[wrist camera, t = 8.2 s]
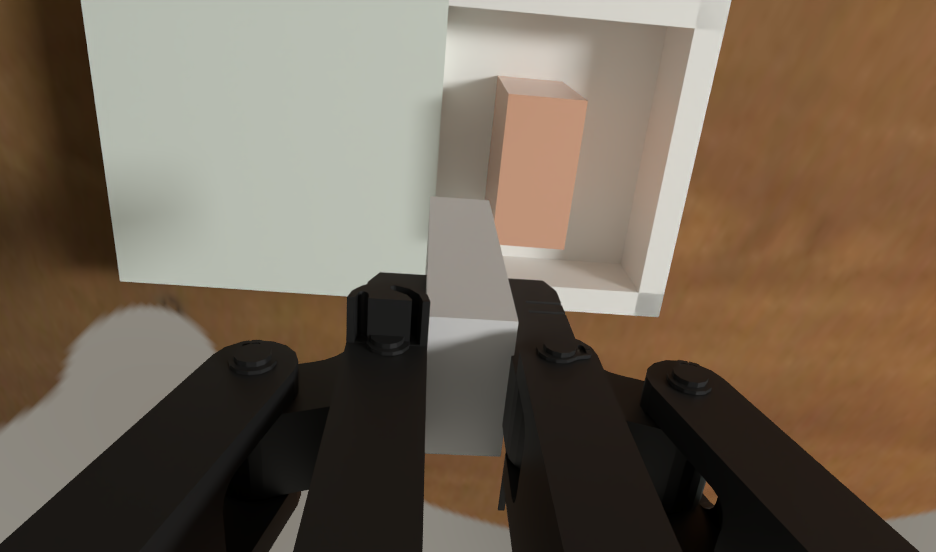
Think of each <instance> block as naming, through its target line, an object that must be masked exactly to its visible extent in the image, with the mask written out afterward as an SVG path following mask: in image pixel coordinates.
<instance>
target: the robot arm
mask: <svg viewBox="0 0 936 552" xmlns="http://www.w3.org/2000/svg"><path fill="white" fill-rule="evenodd" d="M503 435H504V441H505V448H506V454H505V461H504V468H503V476H502V483H501V490H500V497H499V505H498V510H504V509H505V504H506V507H507V515H508V522H509V530H510V537H511V546H512V552H919V551H918V550H917V549H916V548H915V547H914V546H912V545H911V544H910V543H909V542H908V541H907V540H906V539H904V538H903V537H902V536H901V535H900V534H899V533H898V532H897V531H895V530H894V529H893V528H892V527H891V526H890V525H889V524H888V523H886V522H885V521H884V520H883V519H882V518H881V517H880V516H878V515H877V514H876V513H875V512H874V511H873V510H872V509H871V508H869V507H868V506H867V505H866V504H865V503H864V502H863V501H861V500H860V499H859V498H858V497H857V496H856V495H855V494H854V493H852V492H851V491H850V490H849V489H848V488H847V487H846V486H844V485H843V484H842V483H841V482H840V481H839V480H838V479H837V478H835V477H834V476H833V475H832V474H831V473H830V472H829V471H827V470H826V469H825V468H824V467H823V466H822V465H821V464H820V463H818V462H817V461H816V460H815V459H814V458H813V457H812V456H810V455H809V454H808V453H807V452H806V451H805V450H804V449H803V448H801V447H800V446H799V445H798V444H797V443H796V442H795V441H793V440H792V439H791V438H790V437H789V436H788V435H787V434H786V433H784V432H783V431H782V430H781V429H780V428H779V427H778V426H776V425H775V424H774V423H773V422H772V421H771V420H770V419H769V418H767V417H766V416H765V415H764V414H763V413H762V412H761V411H760V410H758V409H757V408H756V407H755V406H754V405H753V404H752V403H750V402H749V401H748V400H747V399H746V398H745V397H744V396H743V395H741V394H740V393H739V392H738V391H737V390H736V389H735V388H733V387H732V386H731V385H730V384H729V383H728V382H727V381H726V380H724V379H723V378H722V377H720V376H719V375H717V374H716V373H714V372H713V371H711V370H709V369H706V368H704V367H702V366H700V365H699V364H696V363H692V362H689V363H688V362H687V361H682V360H678V361H671V360H665V361H661V362H657V363H654V364H653V365H651V366H650V367H649V368H648V369H647V373H646V377H645V381H642V380H638V379H633V378H629V377H625V376H621V375H617V374H614V373H611V372H608V371H606V370H604V369H603V367H602V365H601V362H600V360H599V358H598V355H597V354H596V353H595V351H594V350H593V349H592V348H591V347H590V346H588V345H587V344H585V343H583V342H582V341H580V340H577V339H575V337H574V334H573V332H572V329H571V327H570V324H569V322H568V319H567V317H566V315H565V312H564V309H563V307H562V305H561V301H560V299H559V296H558V294H557V291H555V290H554V289H553V288H552V287H550V286H549V285H548V284H547V283H546V282H544V281H542V280H526V279H510V278H508V276H507V272H506V268H505V264H504V260H503V256H502V252H501V247H500V243H499V239H498V235H497V231H496V227H495V223H494V219H493V215H492V210H491V206H490V202H489V200H477V199H463V198H449V197H435V196H430V209H429V225H428V240H427V255H426V270H425V275H418V274H402V273H386V272H380V273H378V274H377V275H376V276H374V277H373V278H372V279H371V280H369V281H368V283H367V284H366V285H362V286H360V287H358V288H356V289H354V290H352V291H351V292H350V294H349V295H348V296H347V337H346V346H345V350H344V352H343V353H341V354H339V355H337V356H335V357H332V358H329V359H326V360H321V361H316V362H310V363H302V364H298V359H297V356H296V353H295V352H294V351H293V350H292V349H290V348H289V347H288V346H286V345H283V344H280V343H276V342H272V341H262V340H252V341H243V342H240V343H237V344H233V345H230V346H227V347H224V348H223V349H221V350H220V351H218V352H216V353H215V354H213V355H212V356H211V357H210V358H209V359H207V360H206V361H205V362H204V363H203V364H202V365H201V366H200V367H199V368H198V369H196V370H195V371H194V372H193V373H192V374H191V375H190V376H188V377H187V378H186V379H185V380H184V381H183V382H182V383H181V384H180V385H178V386H177V387H176V388H175V389H174V390H173V391H172V392H170V393H169V394H168V395H167V396H166V397H165V398H164V399H163V400H161V401H160V402H159V403H158V404H157V405H156V406H155V407H154V408H152V409H151V410H150V411H149V412H148V413H147V414H146V415H145V416H143V418H141V419H140V420H139V421H138V422H137V423H136V424H135V425H133V426H132V427H131V428H130V429H129V430H128V431H127V432H125V433H124V434H123V435H122V436H121V437H120V438H119V439H118V440H117V441H115V442H114V443H113V444H112V445H111V446H110V447H109V448H108V449H106V450H105V451H104V452H103V453H102V454H101V455H100V456H99V457H97V458H96V459H95V460H94V461H93V462H92V463H91V464H90V465H88V466H87V467H86V468H85V469H84V470H83V471H82V472H81V473H79V474H78V475H77V476H76V477H75V478H74V479H73V480H72V481H70V482H69V483H68V484H67V485H66V486H65V487H64V488H63V489H61V490H60V491H59V492H58V493H57V494H56V495H55V496H54V497H52V498H51V499H50V500H49V501H48V502H47V503H46V504H45V505H44V506H42V507H41V508H40V509H39V510H38V511H37V512H36V513H34V514H33V515H32V516H31V517H30V518H29V519H28V520H27V521H25V522H24V523H23V524H22V525H21V526H20V527H19V528H18V529H16V530H15V531H14V532H13V533H12V534H11V535H10V536H9V537H7V538H6V539H5V540H4V541H3V542H2V543H1V544H0V552H269V550H270V549H271V547H272V546H273V544H274V542H275V541H276V539H277V537H278V536H279V534H280V532H281V531H282V529H283V528H284V526H285V524H286V523H287V521H288V520H289V518H290V516H291V515H292V513H293V511H294V510H295V508H296V506H297V505H298V502H299V499H300V496H301V491H304V490H309V491H308V495H307V500H306V503H305V507H304V511H303V515H302V519H301V523H300V527H299V531H298V534H297V538H296V543H295V546H294V551H293V552H422V544H423V504H424V463H425V453H429V454H453V455H477V456H501V449H502V441H503ZM706 481H707V483H708V484H709V485H710V486H711V487H712V488H713V490H714V491H715V493H716V495H717V496H718V498H717V502H716V504H715V505H713V504H712V503H711V502H710V501H709V500H708V499H707V498H706V497H705V496H704V494H703V490H704V486H705V483H706Z"/></svg>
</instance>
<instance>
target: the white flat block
mask: <svg viewBox="0 0 936 552" xmlns="http://www.w3.org/2000/svg"><path fill="white" fill-rule="evenodd" d="M81 6H82V13H83V20H84V27H85V34H86V42H87V49H88V56H89V63H90V70H91V77H92V84H93V91H94V98H95V106H96V113H97V120H98V127H99V134H100V141H101V148H102V155H103V163H104V170H105V177H106V184H107V191H108V198H109V205H110V212H111V220H112V227H113V234H114V241H115V248H116V255H117V262H118V269H119V276H120V281H125V282H140V283H155V284H170V285H185V286H200V287H215V288H230V289H245V290H260V291H275V292H290V293H305V294H320V295H335V296H348V295H349V294H350V292H351V291H352V290H354V289H356V288H358V287H360V286H362V285H366V284H367V283H368V281H369V280H371V279H372V278H373V277H374V276H376V275H377V274H378V273H380V272H386V273H402V274H418V275H425V270H426V255H427V240H428V225H429V209H430V196H436V182H437V167H438V153H439V138H440V124H441V109H442V95H443V80H444V66H445V51H446V37H447V23H448V8H449V0H81Z"/></svg>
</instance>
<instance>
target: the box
mask: <svg viewBox="0 0 936 552" xmlns="http://www.w3.org/2000/svg"><path fill="white" fill-rule="evenodd" d="M730 4H731V0H449V8H448V23H447V37H446V51H445V66H444V80H443V95H442V109H441V124H440V138H439V153H438V167H437V182H436V196H435V197H449V198H463V199H477V200H485V191H486V181H487V172H488V162H489V153H490V143H491V134H492V124H493V115H494V105H495V95H496V86H497V76H509V77H519V78H530V79H541V80H552V81H562V82H564V83H565V84H566V85H568V86H569V87H570V88H572V89H573V90H574V91H576V92H577V93H578V94H580V95H581V96H582V97H584V98H585V99H586V100H588V104H587V110H586V117H585V123H584V129H583V135H582V142H581V148H580V154H579V160H578V166H577V173H576V179H575V185H574V191H573V198H572V204H571V210H570V216H569V222H568V229H567V235H566V241H565V247H564V250H560V249H547V248H534V247H521V246H508V245H500V247H501V252H502V256H503V260H504V264H505V268H506V272H507V276H508V278H510V279H526V280H542V281H544V282H546V283H547V284H548V285H549V286H550V287H552V288H553V289H554V290H555V291H557V294H558V296H559V299H560V301H561V305H562V307H563V309H564V311H575V312H590V313H605V314H620V315H635V316H650V317H659V313H660V309H661V305H662V300H663V296H664V291H665V287H666V283H667V278H668V274H669V270H670V265H671V261H672V257H673V252H674V248H675V244H676V239H677V235H678V231H679V226H680V222H681V217H682V213H683V209H684V204H685V200H686V196H687V191H688V187H689V183H690V178H691V174H692V170H693V165H694V161H695V157H696V152H697V148H698V143H699V139H700V135H701V130H702V126H703V122H704V117H705V113H706V109H707V104H708V100H709V96H710V91H711V87H712V83H713V78H714V74H715V69H716V65H717V61H718V56H719V52H720V48H721V43H722V39H723V35H724V30H725V26H726V22H727V17H728V13H729V9H730Z"/></svg>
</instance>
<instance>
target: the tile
mask: <svg viewBox="0 0 936 552" xmlns="http://www.w3.org/2000/svg"><path fill="white" fill-rule="evenodd" d="M587 104H588V100H586V99H585V98H584V97H582V96H581V95H580V94H578V93H577V92H576V91H574V90H573V89H572V88H570V87H569V86H568V85H566V84H565V83H564V82H562V81H552V80H541V79H530V78H519V77H509V76H497V86H496V95H495V105H494V115H493V124H492V134H491V143H490V153H489V162H488V172H487V181H486V191H485V200H489V202H490V206H491V210H492V215H493V219H494V223H495V227H496V231H497V235H498V239H499V243H500V245H508V246H521V247H534V248H547V249H560V250H564V247H565V241H566V235H567V229H568V222H569V216H570V210H571V204H572V198H573V191H574V185H575V179H576V173H577V166H578V160H579V154H580V148H581V142H582V135H583V129H584V123H585V117H586V110H587Z"/></svg>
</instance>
